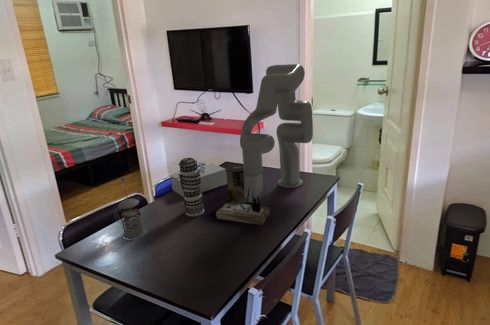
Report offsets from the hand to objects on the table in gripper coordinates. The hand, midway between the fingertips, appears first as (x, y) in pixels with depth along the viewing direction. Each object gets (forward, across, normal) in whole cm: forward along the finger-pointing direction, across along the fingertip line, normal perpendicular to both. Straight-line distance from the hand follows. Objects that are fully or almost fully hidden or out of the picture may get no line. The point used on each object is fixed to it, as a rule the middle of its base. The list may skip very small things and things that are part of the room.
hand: (256, 210), depth 146 cm
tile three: (+2, 0, -6) cm, 7 cm away
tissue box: (+4, -24, -42) cm, 49 cm away
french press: (+4, +26, -44) cm, 52 cm away
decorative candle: (+4, +2, -29) cm, 30 cm away
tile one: (+3, 0, -13) cm, 13 cm away
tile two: (+3, 0, 0) cm, 3 cm away
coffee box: (+4, -14, -14) cm, 21 cm away
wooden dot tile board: (+4, 0, -6) cm, 7 cm away
